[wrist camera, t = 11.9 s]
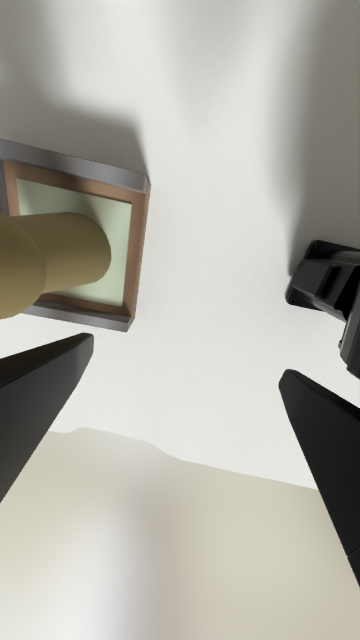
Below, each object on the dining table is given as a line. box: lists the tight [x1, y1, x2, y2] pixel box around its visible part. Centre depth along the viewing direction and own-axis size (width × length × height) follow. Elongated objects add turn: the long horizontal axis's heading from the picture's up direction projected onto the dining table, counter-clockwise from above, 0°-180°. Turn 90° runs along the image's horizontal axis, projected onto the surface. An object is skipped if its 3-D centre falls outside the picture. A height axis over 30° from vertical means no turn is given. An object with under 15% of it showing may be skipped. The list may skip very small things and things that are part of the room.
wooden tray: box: [0, 139, 151, 332], centre depth 18 cm, size 12×13×4 cm
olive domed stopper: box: [0, 212, 111, 319], centre depth 12 cm, size 6×6×11 cm
